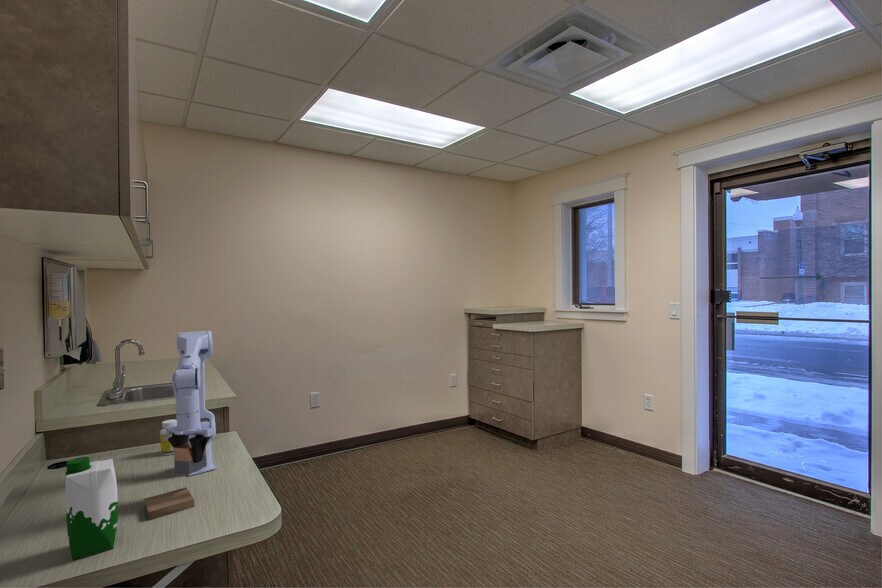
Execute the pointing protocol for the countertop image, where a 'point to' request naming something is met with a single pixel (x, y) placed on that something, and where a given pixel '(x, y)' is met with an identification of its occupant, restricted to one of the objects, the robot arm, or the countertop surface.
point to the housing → (187, 459)
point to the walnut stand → (168, 503)
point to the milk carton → (91, 506)
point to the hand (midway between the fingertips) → (190, 460)
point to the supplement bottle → (166, 437)
